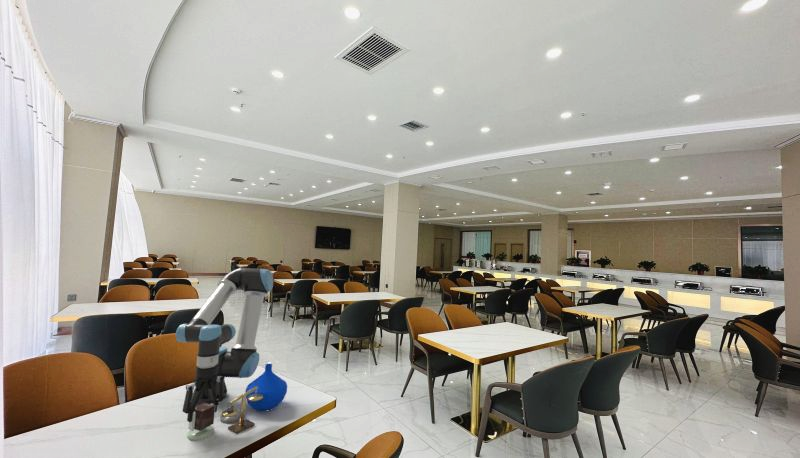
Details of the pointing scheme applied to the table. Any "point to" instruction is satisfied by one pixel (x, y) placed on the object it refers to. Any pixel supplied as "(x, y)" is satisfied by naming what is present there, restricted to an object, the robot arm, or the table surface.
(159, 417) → the table surface
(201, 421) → the box
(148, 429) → the table surface
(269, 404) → the vase
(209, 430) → the mint green rounded dome
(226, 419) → the grey plastic dome
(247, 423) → the balance
